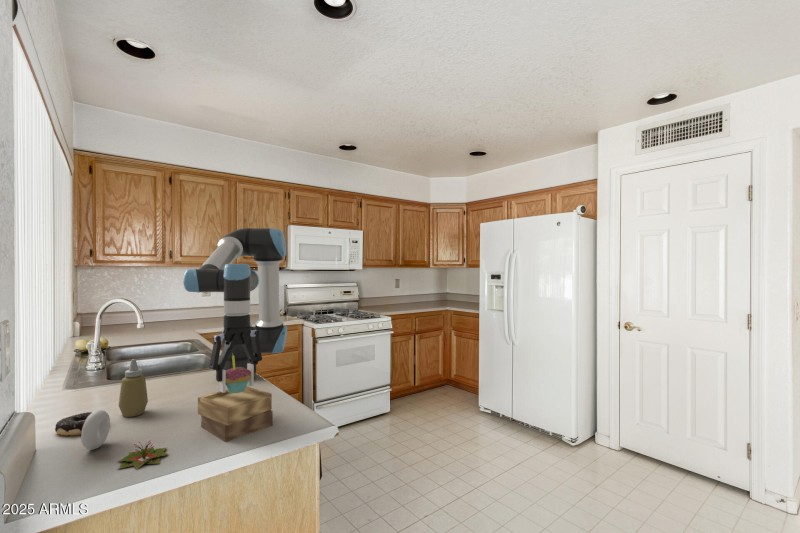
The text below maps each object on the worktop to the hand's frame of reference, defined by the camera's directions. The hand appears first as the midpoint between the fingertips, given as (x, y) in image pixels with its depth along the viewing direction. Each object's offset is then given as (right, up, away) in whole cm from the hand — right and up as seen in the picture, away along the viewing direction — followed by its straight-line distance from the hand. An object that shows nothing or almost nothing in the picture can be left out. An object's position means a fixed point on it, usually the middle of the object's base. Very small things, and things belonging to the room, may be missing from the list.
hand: (236, 388), depth 122 cm
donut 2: (-32, -12, -15) cm, 37 cm away
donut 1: (-45, -12, -3) cm, 47 cm away
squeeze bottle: (-38, -11, +9) cm, 40 cm away
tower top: (0, -7, 0) cm, 7 cm away
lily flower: (-15, -12, -20) cm, 28 cm away
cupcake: (0, -1, 0) cm, 1 cm away
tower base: (0, -12, 0) cm, 12 cm away
